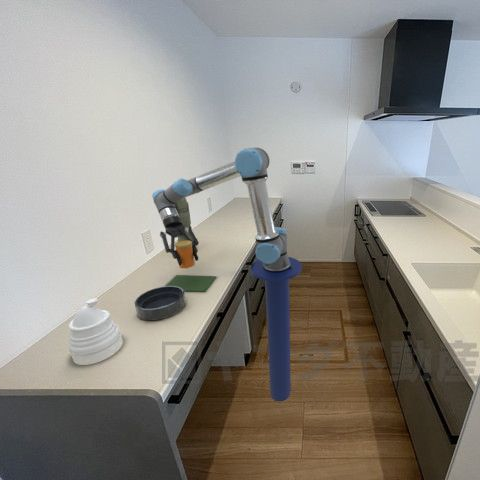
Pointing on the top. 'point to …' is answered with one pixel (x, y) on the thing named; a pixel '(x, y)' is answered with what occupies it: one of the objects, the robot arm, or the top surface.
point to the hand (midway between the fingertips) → (188, 261)
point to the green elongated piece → (183, 215)
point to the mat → (192, 282)
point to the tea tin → (185, 253)
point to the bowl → (160, 302)
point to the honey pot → (93, 335)
